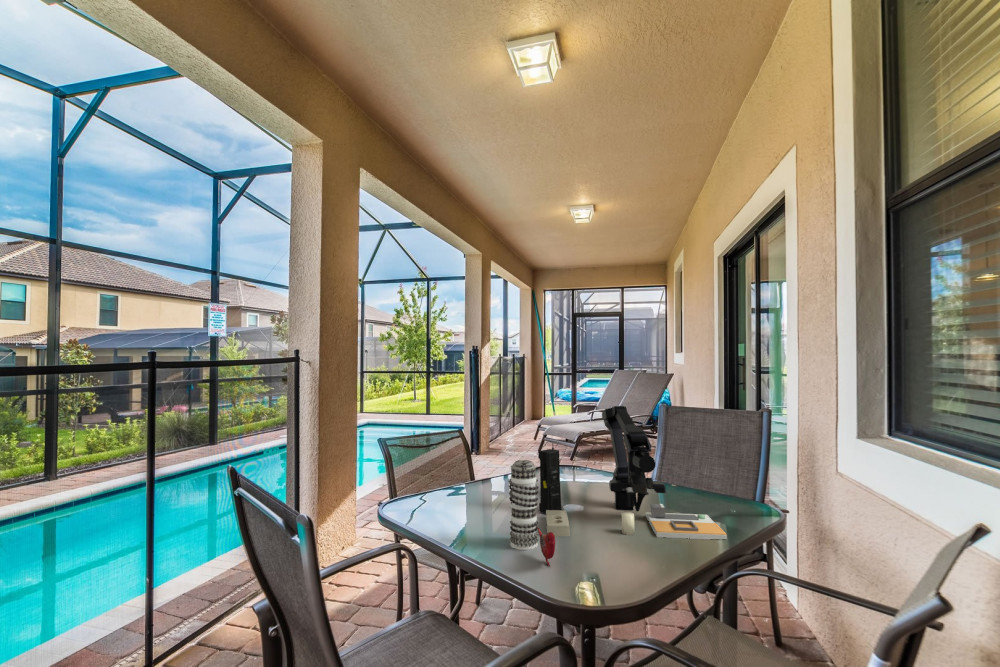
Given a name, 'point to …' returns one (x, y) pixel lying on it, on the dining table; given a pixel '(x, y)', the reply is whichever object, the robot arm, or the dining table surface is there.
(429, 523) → the dining table surface
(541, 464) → the portable radio
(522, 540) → the decorative candle
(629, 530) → the lockout cap
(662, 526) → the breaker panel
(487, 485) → the dining table surface
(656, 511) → the block
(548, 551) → the decorative bird figurine
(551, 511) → the electrical outlet
